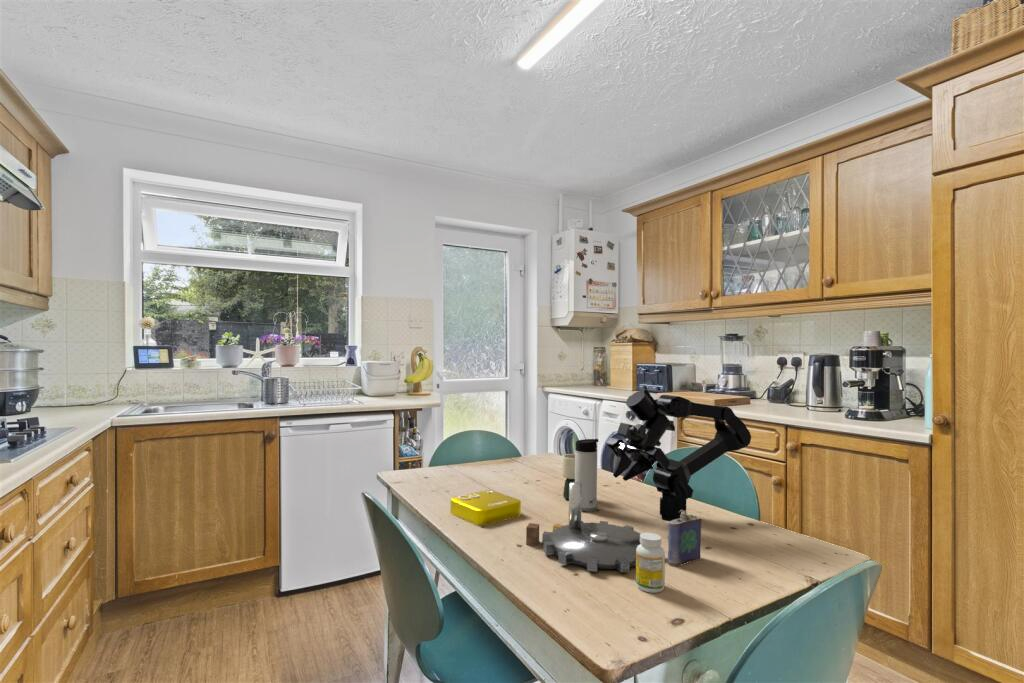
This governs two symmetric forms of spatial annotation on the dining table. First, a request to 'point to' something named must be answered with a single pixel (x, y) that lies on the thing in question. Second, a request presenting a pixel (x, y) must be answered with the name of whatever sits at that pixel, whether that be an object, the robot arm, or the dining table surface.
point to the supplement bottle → (650, 563)
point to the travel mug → (587, 472)
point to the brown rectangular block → (532, 534)
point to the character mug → (568, 472)
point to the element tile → (485, 507)
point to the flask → (684, 539)
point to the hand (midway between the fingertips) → (619, 478)
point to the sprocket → (591, 540)
